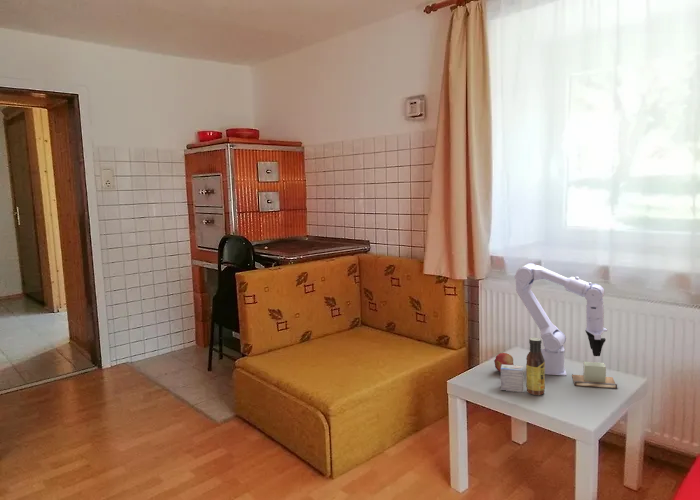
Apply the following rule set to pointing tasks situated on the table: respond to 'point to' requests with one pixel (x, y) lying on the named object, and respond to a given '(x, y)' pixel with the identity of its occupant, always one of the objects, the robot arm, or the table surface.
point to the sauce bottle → (535, 368)
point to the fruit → (503, 360)
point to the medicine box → (512, 378)
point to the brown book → (581, 382)
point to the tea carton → (594, 372)
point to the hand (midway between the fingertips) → (595, 352)
